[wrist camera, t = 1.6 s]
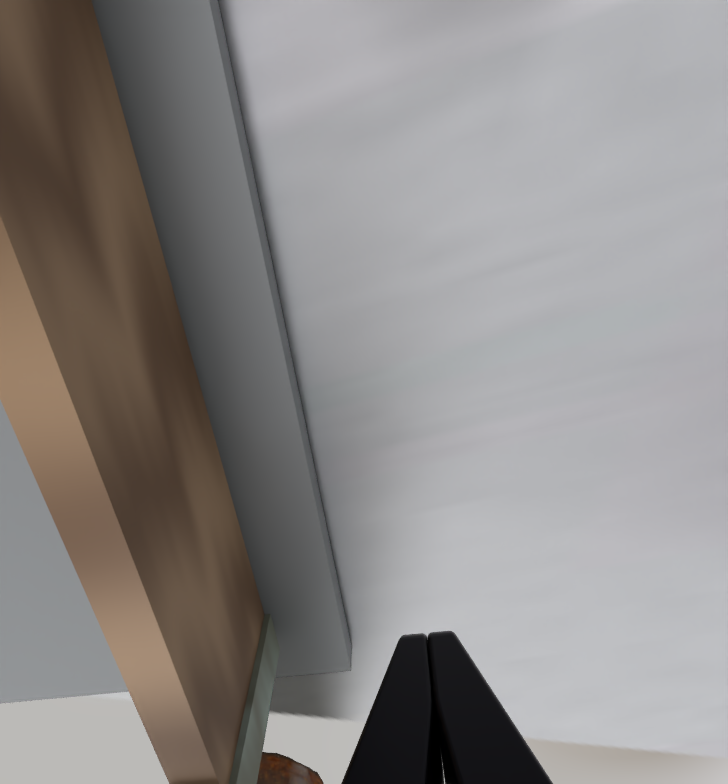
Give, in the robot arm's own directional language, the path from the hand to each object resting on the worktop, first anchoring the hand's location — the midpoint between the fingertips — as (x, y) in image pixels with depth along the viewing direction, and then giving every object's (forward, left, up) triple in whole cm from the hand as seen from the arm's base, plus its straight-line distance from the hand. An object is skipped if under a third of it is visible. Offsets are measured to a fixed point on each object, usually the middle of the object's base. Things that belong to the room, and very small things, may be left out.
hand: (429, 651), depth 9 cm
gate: (+6, -2, -8) cm, 11 cm away
